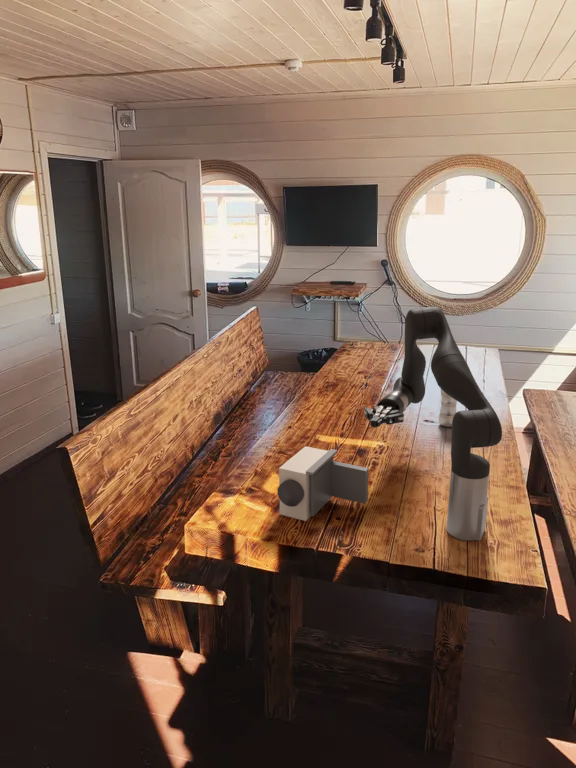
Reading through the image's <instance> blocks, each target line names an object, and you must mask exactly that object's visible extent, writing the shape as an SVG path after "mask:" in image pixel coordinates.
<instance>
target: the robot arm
mask: <svg viewBox="0 0 576 768" xmlns="http://www.w3.org/2000/svg"><path fill="white" fill-rule="evenodd" d="M452 333H453V332H452V330H451V328H450V326H449V323H448V320H447V318H446V315H445V313H444V312H443V310H442V309H441V308H440V307H438V306H427V307H418V308H417V307H416V308H411V309H409V310H408V311H407V313H406V316H405V320H404V356H403V358H404V359H403V362H402V368H401V369H402V370H401V372H400V373H401V374H400V375H401V376H400V377H398V378H397V379H396V380H395V382H394V383H393V386H392V387H393V388H392V390H391V392H389V393H388V394H386V395H385V396H384V397H383V398H382V399H380V400H379V401H378V403H377V404H376V406H374V407H373V408H369V406H365V407H364V409H363V410H364V413H363V415H364V417H365V418H366V419H367V421H369V423H370V424H369V425H370V427H371V428H375V429H377V428H379V427H380V426H381V425H384V424H385V425H386V426H391V425H395V424H400V423H403V422H404V420H405V414H404V413H405V411H406V410H407V408H408V407H409V406H410V405H412V404H419V403H420V402H422V401H423V400H424V397H425V394H426V384H425V379H424V376H425V372H426V371H425V370H426V366H427V361H426V360H427V359H426V357H425V355H424V353H423V352H422V350H421V349H420V347H419V346H418V343H417V340H426V339H436V340H437V342H438V343H437V346H436V349H435V351H434V353H433V355H432V359H431V361H430V369H431V373H432V375H433V377H434V380H435V382H436V383H437V385H438V387H439V389H440V390H441V389H442V390H443V391H444V392H445V393H446V394H448V395H449V396H450V397H452V398H453V399H455V400H457V402H458V403H459V404H461V405H462V406H463V407H465V408H466V410H460V411H456V413H455V415H454V417H453V420H452V427H451V446H450V447H451V448H450V459H451V461H450V463H451V467H450V481H449V490H448V491H449V492H448V503H447V504H448V506H447V517H446V531H447V533H448V534H449V535H450V536H452V537H453V538H455V539H457V540H462V541H470V542H471V541H478V542H481V541H482V538H483V536H484V533H485V531H486V525H487V516H488V506H489V497H488V490H489V482H490V481H489V480H490V473H491V472H490V471H491V470H490V469H491V464H490V462H489V460H488V459H486V458H485V457H483V456H481V455H478V454H475V453H472V451H471V450H472V449H476V448H478V449H479V448H488V447H489V448H490V447H494V446H497V445H498V444H500V442H501V440H502V437H503V429H502V424H501V420H500V418H499V416H498V415H497V413H496V411H495V409H494V408H493V406H492V404H490V402H489V400H488V399H487V397H486V396H485V394H484V393H483V391H482V390H481V389H480V387H479V385H478V383H477V381H476V379H475V378H474V376H473V373H472V371H471V369H470V367H469V365H468V362H467V361H466V359H465V357H464V356H463V354H462V352H461V350H460V348H459V346H458V345H457V343H456V340H455V338H454V336H453V334H452Z"/></svg>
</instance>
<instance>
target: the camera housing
mask: <svg viewBox="0 0 576 768" xmlns="http://www.w3.org/2000/svg"><path fill="white" fill-rule="evenodd" d="M337 454H338V449H334V448H333V449H332V448H330V449H329V450H326V449H321V448H316V447H311V446H304V447H303V448H302V449H300V450H299V451H298V452H296V453H295V454H294V455H293V456H292V457H290V458H289V459H288V460H287V461H285V463H283V464H282V465H281V466H280V467H279V468H278V478H279V479H278V487H277V490H276V491H277V492H276V493H277V496H278V499H279V515H280V516H285V517H288V518H292V519H296V520H301V521H304V522H307V521H308V520H309V519H310V517H312V516H311V475H312V476H313V475H314V474H315V473H316V472H317V471H318V470H319V469H320V468H321V467H323V466H324V465H325V464H326V463H327V462H328V461H329V460H330V459H331V458H332V457H333V458H334V457H335V456H336V455H337Z"/></svg>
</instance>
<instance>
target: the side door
mask: <svg viewBox="0 0 576 768" xmlns="http://www.w3.org/2000/svg"><path fill="white" fill-rule="evenodd" d="M369 470H370V469H369V467H364V466H359V465H355V464H350V463H345V462H340V461H336V460H334V456H333V457H332V458H331V459H330V460H329V461H328V462H327V463H326V464H325V465H324V466H323V467H321V468H320V469H319V470H318V471H317V472H316V473H315V474H314V475H313V476H312V475H311V516H310V517H312V518H313V517H314V516H316V515H317V514H318V513H319V511H320V510H321V509H322V508H323V507H324V506H325V505H326V504H327V503H328V501H329V500H331V498H333V497H335V498H338V499H339V498H340V499H342V500H347V501H351V502H356V503H358V504H363V505H364V504H365V505H366V503H367V502H368V498H369V497H368V496H369V493H368V491H369Z"/></svg>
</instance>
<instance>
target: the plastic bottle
mask: <svg viewBox="0 0 576 768" xmlns="http://www.w3.org/2000/svg"><path fill="white" fill-rule="evenodd" d="M440 397H441V399H440V405H441V406H440V411H439V414H438V423H439V425H441V426H442V427H447V428H452V420H453V417H454V415H455V413H457V405H458V404H457V402H458V401H457V400H455V399H453V398H452V397H450V396H449V395H448V394H446V393H445V392H444V391H443V390H442V389H441V388H440Z"/></svg>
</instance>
